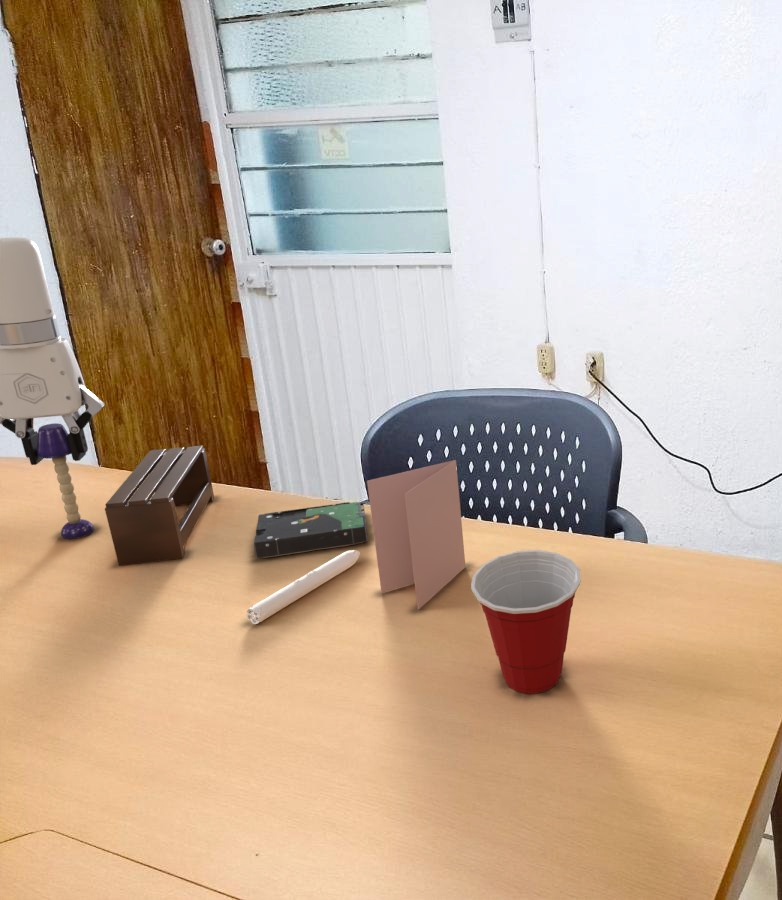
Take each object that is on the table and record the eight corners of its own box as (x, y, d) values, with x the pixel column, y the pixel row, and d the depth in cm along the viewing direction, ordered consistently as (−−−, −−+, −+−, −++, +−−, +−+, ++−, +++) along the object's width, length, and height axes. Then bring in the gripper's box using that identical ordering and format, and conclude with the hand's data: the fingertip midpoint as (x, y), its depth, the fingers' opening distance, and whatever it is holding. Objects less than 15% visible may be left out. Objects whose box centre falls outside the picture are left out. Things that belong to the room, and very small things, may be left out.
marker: (354, 557, 112) (352, 542, 111) (366, 560, 111) (364, 544, 110) (247, 622, 97) (244, 604, 96) (260, 626, 96) (257, 608, 95)
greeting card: (462, 564, 109) (452, 458, 104) (488, 586, 103) (479, 474, 98) (379, 590, 103) (364, 478, 98) (401, 615, 97) (387, 498, 92)
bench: (118, 565, 111) (103, 504, 108) (160, 503, 132) (148, 450, 128) (182, 558, 113) (169, 497, 110) (214, 497, 133) (204, 445, 130)
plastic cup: (466, 708, 81) (455, 599, 77) (494, 646, 91) (486, 547, 87) (575, 715, 79) (570, 605, 75) (592, 651, 89) (589, 552, 85)
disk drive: (257, 562, 112) (369, 543, 116) (253, 543, 111) (367, 525, 115) (260, 531, 121) (365, 515, 125) (257, 514, 120) (362, 497, 124)
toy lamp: (104, 528, 123) (77, 421, 117) (77, 542, 119) (47, 432, 113) (79, 525, 124) (51, 419, 119) (51, 538, 120) (21, 429, 114)
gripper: (-60, 343, 106) (-21, 475, 112) (86, 333, 110) (116, 462, 116) (-32, 331, 113) (3, 457, 119) (104, 323, 117) (132, 445, 123)
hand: (58, 458), depth 117 cm, fingers closed on toy lamp, 4 cm apart
